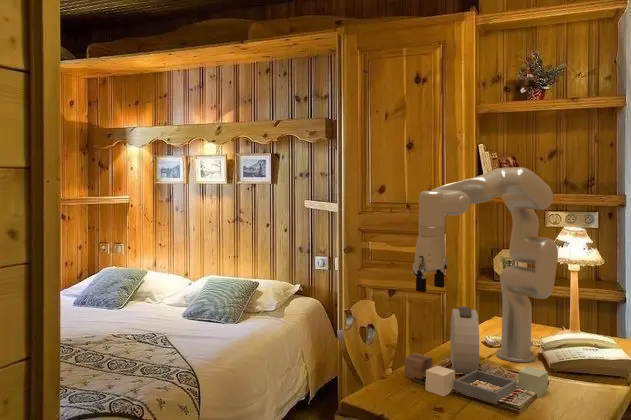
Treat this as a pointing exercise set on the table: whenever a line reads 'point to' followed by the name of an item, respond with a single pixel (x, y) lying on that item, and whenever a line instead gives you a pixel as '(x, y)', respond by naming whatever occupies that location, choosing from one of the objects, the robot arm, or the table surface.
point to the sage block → (533, 380)
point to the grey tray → (475, 391)
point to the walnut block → (417, 365)
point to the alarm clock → (464, 340)
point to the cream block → (440, 380)
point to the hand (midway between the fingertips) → (430, 289)
